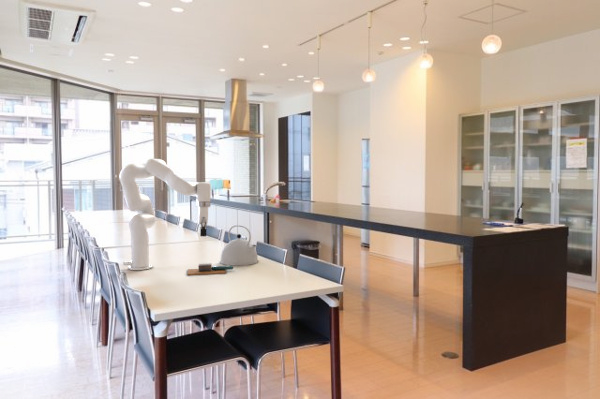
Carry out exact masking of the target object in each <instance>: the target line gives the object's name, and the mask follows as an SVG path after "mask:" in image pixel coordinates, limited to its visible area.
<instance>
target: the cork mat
mask: <svg viewBox="0 0 600 399" xmlns="http://www.w3.org/2000/svg"><path fill="white" fill-rule="evenodd" d="M223 274H227V273H226V270H212V269H211V271H205V272H199V269H198V268H189V269H187V276H203V275H205V276H206V275H223Z"/></svg>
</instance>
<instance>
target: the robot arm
mask: <svg viewBox="0 0 600 399" xmlns="http://www.w3.org/2000/svg"><path fill="white" fill-rule="evenodd" d="M151 177H156V178H157V179H159V180H161V181H162V182H164V183H165V184H166V185H167V186H168V187H170V188H171V189H172V190H174V191H175V192H177V193H179V194H181V195H183V196H195V195H196V207H197V208H198V209H197V210H198V212H197V225H198V226H200V229H199V230H200V234H199V235H200V237H207V225H208V220H209V208H211V199H212V198H211V194H212V192H211V191H212V190H211V189H212V186H211V183H210V182H207V181H199V182H198V181H187V180H185V179H183V178H181V177H179V176H178V175H177V174H176V170H175V169H174V168H172V167H170V166H168V165H167V163H166V161H164V160H163V159H161V158H149V159H147V160H146V161H145V163H128V164H127V165H124V166H123V168H122V169H121V171H120V173H119V181H120V184H121V188H122V191H123V195H124V199H125V200H124V201H125V203H126V207H127V209H128V210H129V211H130V212H132V213H133V212H134V213H135V212H138V213H135V214H132V216H130V218H129V219H128V220H129V221H128V225H129V226H128V228H129V233H130V245H131V246H130V248H131V250H130V251H131V252H130V254H131V255H130V256H131V260H129V261H123V266H128V270H130V271H144V270H150V269H152V268H153V265H152V264H150V245H149V244H150V241H149V232H148V229H151V228H153V227H154V226H155V223H156V215H155V211H154V207H153V203H152V201H151V199H150V197H149V196H148V195H146V194H143V193H142V194H141V191H140V188H139V185H138V183H137V182H136V179H137V180H138V179H147V178H151Z"/></svg>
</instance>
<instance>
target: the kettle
mask: <svg viewBox="0 0 600 399" xmlns="http://www.w3.org/2000/svg"><path fill="white" fill-rule="evenodd" d="M236 227H237V228H238V227H239V228H243V229H245V230H246V231H247V232H248V236H249V238H248V240H247V239H243V238H242V234H240V233H238V234H237V235H236V239H232V240H231V237H230V236H231V232H232V231H231V230H232V229H234V228H236ZM227 234H228V235H227V236H228V240H229V242H228V243H227V244H225V246H224V247H223V248H222V250H221V252H220V264H221V265H224V266H248V265H253V264H257V263H258V262H259V261H258V253H257V252H258V251H257V250H256V248H257V245H256V244H252V242H251V239H252V234H251V231H250V230H249V228H248V227H246V226H244V225H240V224H239V225H238V224H237V225H232V226H231V227H230V228H229V230H228V233H227Z"/></svg>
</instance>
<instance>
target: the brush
mask: <svg viewBox="0 0 600 399" xmlns="http://www.w3.org/2000/svg"><path fill="white" fill-rule="evenodd" d="M197 269H199V272H205V271H211V269H212V270H225V271H229V270H230V271H231V270H234V265H214V266H212V263H198V268H197Z"/></svg>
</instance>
